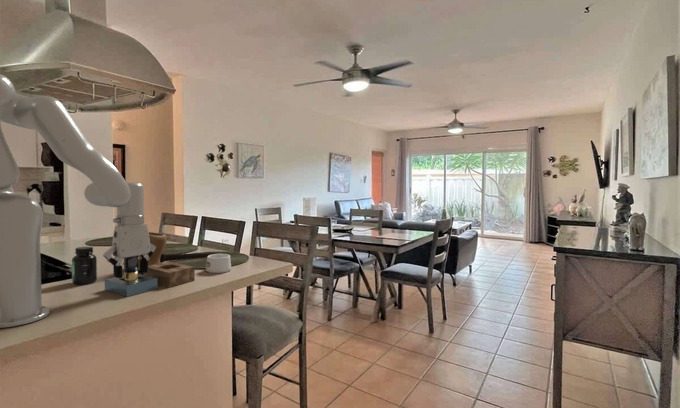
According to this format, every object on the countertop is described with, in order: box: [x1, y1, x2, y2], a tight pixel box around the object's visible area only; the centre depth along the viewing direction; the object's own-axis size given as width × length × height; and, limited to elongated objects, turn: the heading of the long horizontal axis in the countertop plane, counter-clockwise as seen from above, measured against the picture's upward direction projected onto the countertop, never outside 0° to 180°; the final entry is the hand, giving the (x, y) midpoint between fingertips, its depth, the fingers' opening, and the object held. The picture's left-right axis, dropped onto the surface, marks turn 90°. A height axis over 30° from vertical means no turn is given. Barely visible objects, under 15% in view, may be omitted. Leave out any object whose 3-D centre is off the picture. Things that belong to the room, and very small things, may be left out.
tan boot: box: [122, 231, 168, 271], centre depth 140 cm, size 15×12×15 cm
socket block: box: [104, 273, 158, 298], centre depth 115 cm, size 10×12×4 cm
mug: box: [205, 253, 232, 274], centre depth 142 cm, size 12×10×6 cm
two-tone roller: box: [123, 256, 139, 282], centre depth 114 cm, size 4×4×12 cm
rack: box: [143, 261, 196, 288], centre depth 126 cm, size 10×14×5 cm
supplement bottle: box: [71, 246, 98, 286], centre depth 120 cm, size 7×7×12 cm
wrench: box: [160, 252, 219, 263], centre depth 156 cm, size 5×5×30 cm
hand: (131, 274), depth 115 cm, fingers open, 7 cm apart
